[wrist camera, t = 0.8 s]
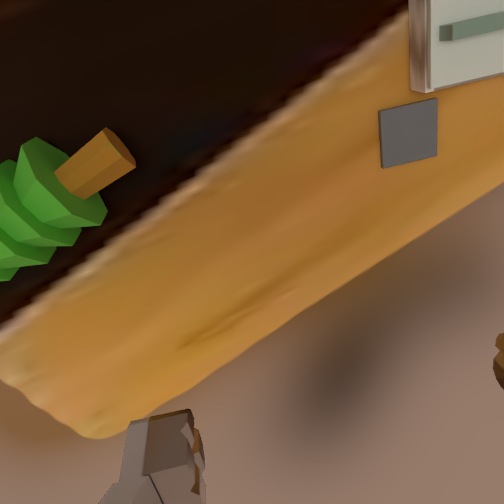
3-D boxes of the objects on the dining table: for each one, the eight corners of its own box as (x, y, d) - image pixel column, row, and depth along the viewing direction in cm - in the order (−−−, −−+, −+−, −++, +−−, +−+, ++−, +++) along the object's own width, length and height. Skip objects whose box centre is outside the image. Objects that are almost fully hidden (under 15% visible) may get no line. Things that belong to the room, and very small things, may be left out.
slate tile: (378, 110, 49) (380, 111, 49) (434, 97, 49) (437, 98, 49) (381, 167, 52) (383, 168, 52) (434, 154, 53) (437, 155, 52)
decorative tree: (130, 186, 37) (-108, 365, 41) (165, 190, 49) (-24, 329, 52) (54, 80, 36) (-182, 271, 40) (107, 109, 48) (-80, 256, 51)
